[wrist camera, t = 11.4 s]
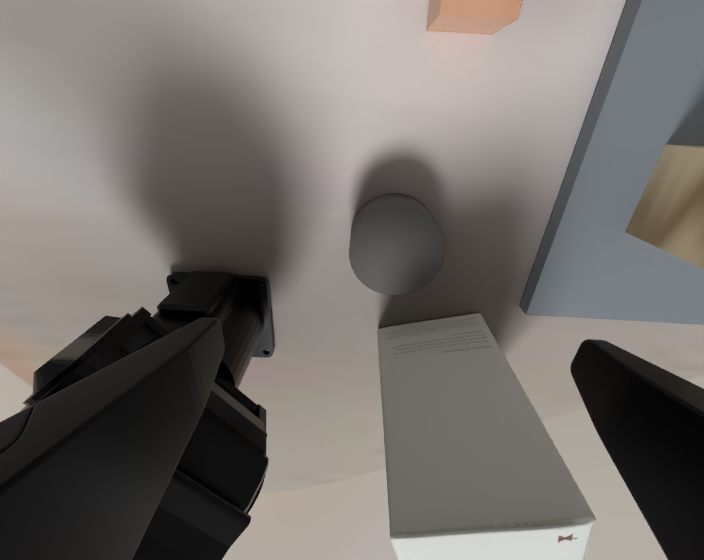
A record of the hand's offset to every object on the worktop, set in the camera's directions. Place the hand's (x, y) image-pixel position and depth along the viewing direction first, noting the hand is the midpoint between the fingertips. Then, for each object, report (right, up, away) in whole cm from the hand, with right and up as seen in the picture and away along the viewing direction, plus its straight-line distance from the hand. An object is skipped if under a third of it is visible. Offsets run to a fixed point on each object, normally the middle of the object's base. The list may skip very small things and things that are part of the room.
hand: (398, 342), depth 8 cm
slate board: (+16, +7, +10) cm, 20 cm away
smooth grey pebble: (+1, +4, +11) cm, 12 cm away
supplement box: (+5, -4, +16) cm, 17 cm away
